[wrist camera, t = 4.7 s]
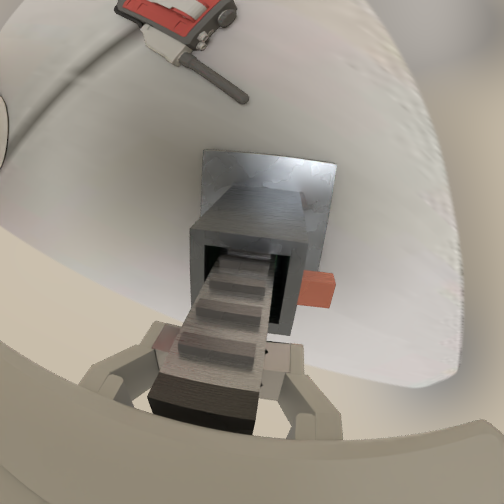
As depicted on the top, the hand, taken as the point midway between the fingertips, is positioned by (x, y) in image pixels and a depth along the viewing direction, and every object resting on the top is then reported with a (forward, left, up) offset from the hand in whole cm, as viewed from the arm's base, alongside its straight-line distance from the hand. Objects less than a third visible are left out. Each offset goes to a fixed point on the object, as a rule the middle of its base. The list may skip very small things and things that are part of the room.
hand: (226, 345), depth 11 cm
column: (0, 0, -16) cm, 16 cm away
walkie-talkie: (-9, +19, -18) cm, 28 cm away
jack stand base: (0, 0, -18) cm, 18 cm away
